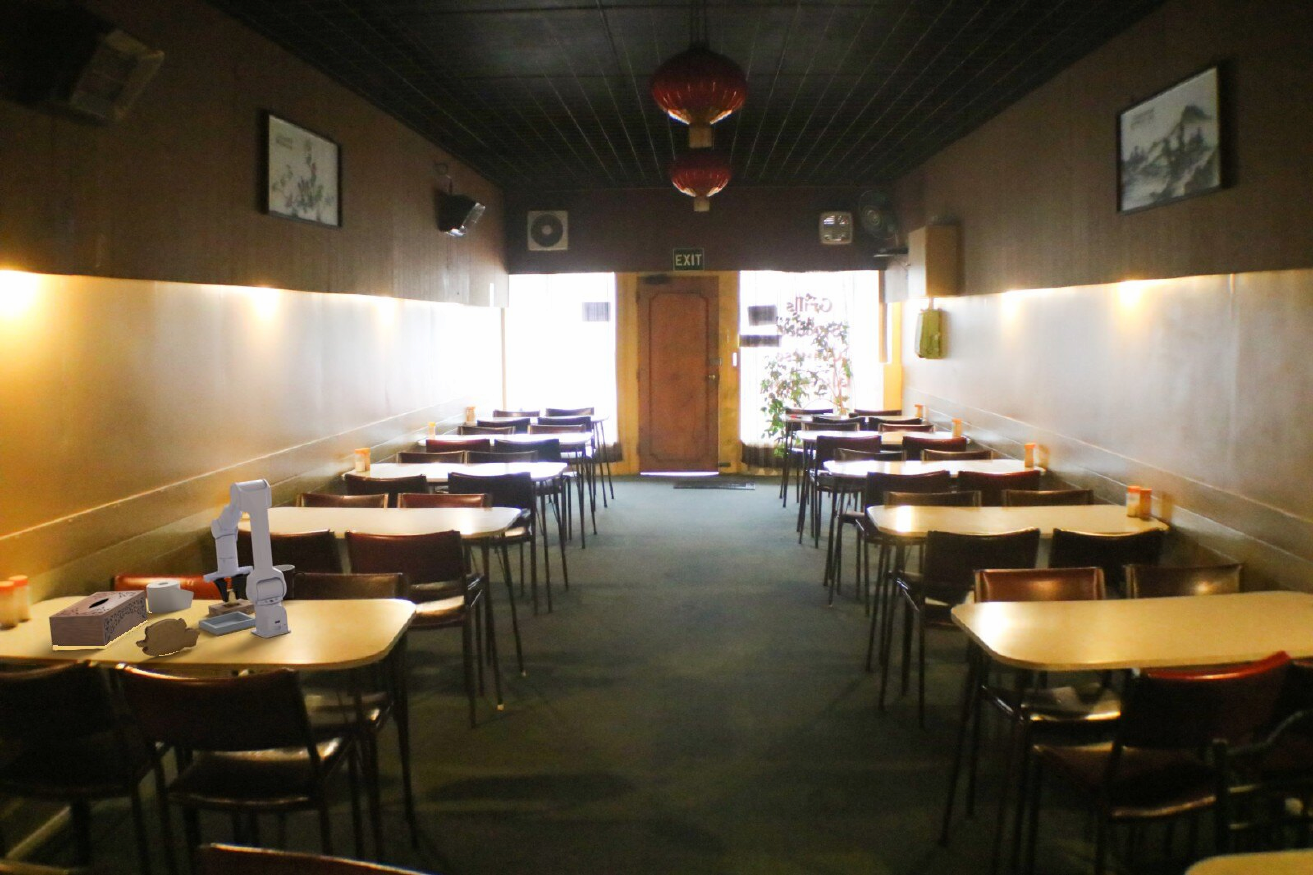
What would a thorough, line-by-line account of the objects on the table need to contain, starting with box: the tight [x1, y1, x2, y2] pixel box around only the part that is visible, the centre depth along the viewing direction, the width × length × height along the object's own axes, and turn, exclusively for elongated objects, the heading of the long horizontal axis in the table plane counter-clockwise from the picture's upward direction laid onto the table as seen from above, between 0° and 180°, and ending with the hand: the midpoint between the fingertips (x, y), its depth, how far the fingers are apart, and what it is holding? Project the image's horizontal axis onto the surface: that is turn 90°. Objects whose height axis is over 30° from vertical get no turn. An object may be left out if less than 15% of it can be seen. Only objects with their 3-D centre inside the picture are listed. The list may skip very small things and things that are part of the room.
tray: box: [198, 611, 256, 637], centre depth 309 cm, size 12×12×2 cm
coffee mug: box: [272, 564, 307, 601], centre depth 338 cm, size 12×9×10 cm
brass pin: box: [226, 588, 237, 608], centre depth 323 cm, size 3×3×7 cm
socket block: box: [207, 598, 255, 617], centre depth 323 cm, size 10×10×3 cm
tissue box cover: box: [48, 589, 149, 646], centre depth 306 cm, size 26×14×10 cm, turn 1°
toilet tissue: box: [145, 579, 195, 614], centre depth 331 cm, size 9×13×9 cm
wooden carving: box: [135, 617, 201, 657], centre depth 286 cm, size 16×5×10 cm, turn 139°
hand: (231, 600), depth 323 cm, fingers closed on brass pin, 3 cm apart
